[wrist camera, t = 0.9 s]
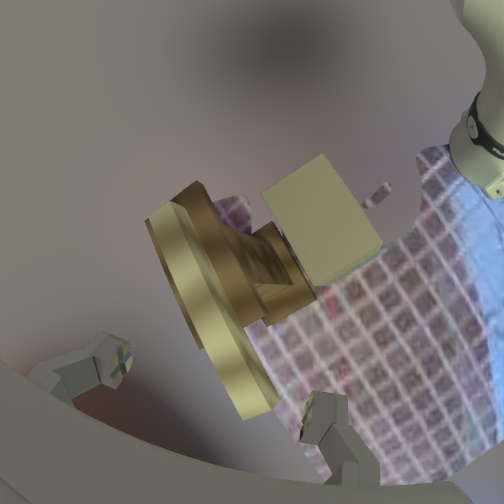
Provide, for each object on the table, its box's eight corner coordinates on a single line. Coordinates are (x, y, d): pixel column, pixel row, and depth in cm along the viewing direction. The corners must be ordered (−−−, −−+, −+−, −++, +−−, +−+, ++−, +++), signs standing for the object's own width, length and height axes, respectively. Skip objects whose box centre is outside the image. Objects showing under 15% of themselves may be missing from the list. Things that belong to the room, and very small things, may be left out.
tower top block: (379, 250, 41) (382, 242, 34) (322, 285, 44) (313, 285, 36) (330, 174, 45) (322, 153, 38) (277, 208, 48) (260, 193, 40)
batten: (280, 399, 26) (271, 410, 23) (254, 409, 27) (242, 420, 24) (185, 207, 32) (169, 200, 29) (165, 222, 33) (148, 217, 30)
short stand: (317, 299, 52) (273, 309, 27) (269, 326, 54) (192, 352, 30) (273, 222, 56) (203, 175, 32) (230, 251, 59) (139, 225, 34)
